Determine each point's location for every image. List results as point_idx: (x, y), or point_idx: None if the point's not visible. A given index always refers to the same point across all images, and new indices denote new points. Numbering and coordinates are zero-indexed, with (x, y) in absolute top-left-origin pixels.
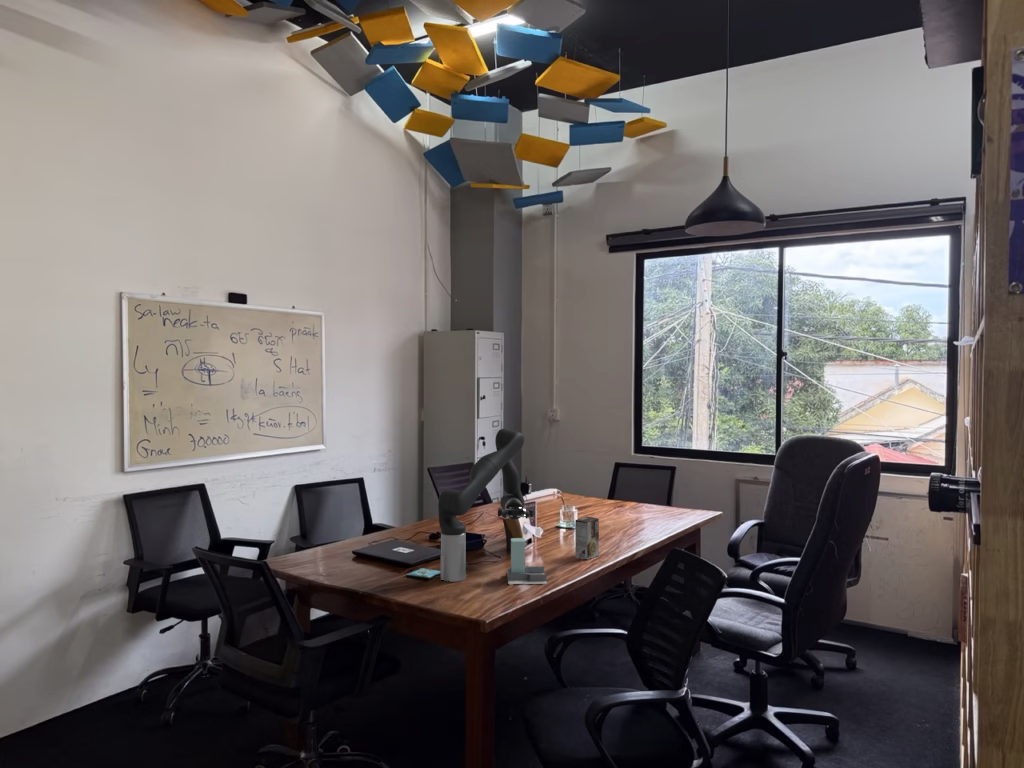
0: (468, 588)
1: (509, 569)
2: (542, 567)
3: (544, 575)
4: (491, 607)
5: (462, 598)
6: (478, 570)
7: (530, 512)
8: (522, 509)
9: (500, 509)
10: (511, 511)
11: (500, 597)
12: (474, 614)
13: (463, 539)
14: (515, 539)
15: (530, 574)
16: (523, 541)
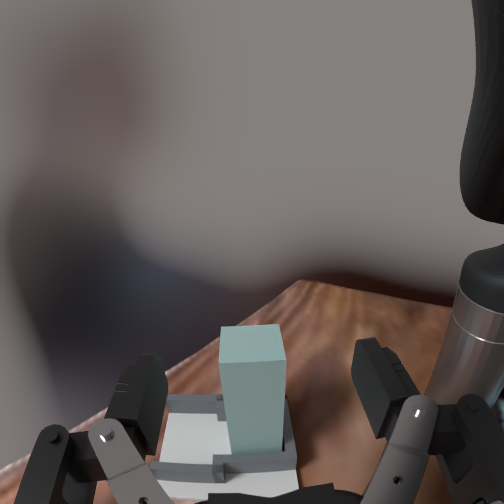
0: None
1: (286, 438)
2: (156, 462)
3: (172, 396)
4: (301, 305)
5: (366, 326)
6: (414, 501)
7: (82, 432)
8: (154, 478)
9: (486, 452)
10: (332, 491)
11: (293, 336)
12: (322, 289)
13: (454, 304)
14: (262, 345)
15: (214, 396)
16: (227, 327)
